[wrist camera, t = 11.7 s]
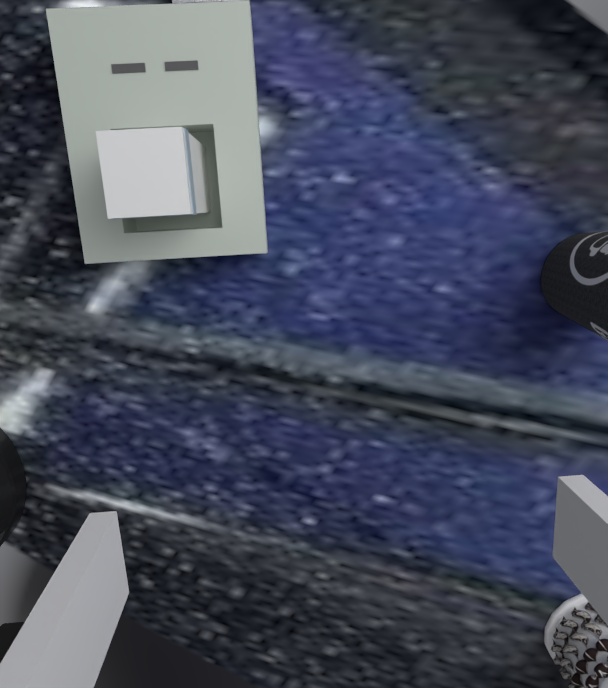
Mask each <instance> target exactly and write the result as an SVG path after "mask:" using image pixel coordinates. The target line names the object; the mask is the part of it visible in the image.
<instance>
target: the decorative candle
mask: <svg viewBox="0 0 608 688" xmlns="http://www.w3.org/2000/svg"><path fill="white" fill-rule="evenodd" d="M544 644H545V646H546V648H547V650H548V652H549V654H550V656H551V658H552V659H553V662H554V663H555V664H560V665H561V666H562V668H561V669H560V673H561V674H562V677H563V678H564V679H570V680H571V682H570V683H569V684H568V686H569V688H608V625H607V624H606V623H605V622H604V620H603V619H602V618H601V617H600V615H599V614H598V613H597V612H596V610H595V609H594V608H593V607H592V605H591V604H590V603H589V602H588V600H587V599H586V598H585V597H584V595H583V594H582V593H581V594H579V595H576V596H574V597H572V598H570V599H568V600H565V601H564V602H563V603H562V604H561V605H560V606H559V607H558V608H557V609H556V610H555V611H553V612H552V614H551V616H550V618H549V620H548V622H547V624H546V626H545V631H544Z"/></svg>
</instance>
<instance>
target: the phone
mask: <svg viewBox="0 0 608 688" xmlns="http://www.w3.org/2000/svg"><path fill="white" fill-rule="evenodd" d="M225 1H249V2H250V0H172V4H177V3H201V2H225ZM250 5H251V4H250Z"/></svg>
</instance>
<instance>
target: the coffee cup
mask: <svg viewBox="0 0 608 688" xmlns="http://www.w3.org/2000/svg"><path fill="white" fill-rule="evenodd" d="M541 287H542V292H543V295H544V297H545V299H546V301H547V302H548V304H549V305H550V306H551V307H552V308H553V309H554V310H556V311H557V312H559V313H560V314H562V315H564V316H566V317H567V318H569V319H571V320H573V321H574V322H576V323H578V324H580V325H582V326H583V327H585V328H587V329H589V330H590V331H592V332H594V333H596V334H597V335H599V336H601V337H603V338H604V339H606V340H608V232H594V233H582V234H577V235H574V236H571V237H569V238H567V239H565V240H564V241H562V242H561V243H559V244H558V245H557V246H556V247H555V248H554V249H553V250H552V252H551V253H550V254H549V256H548V257H547V259H546V261H545V263H544V266H543V269H542V274H541Z"/></svg>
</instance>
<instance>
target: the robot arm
mask: <svg viewBox="0 0 608 688" xmlns="http://www.w3.org/2000/svg"><path fill="white" fill-rule="evenodd" d="M25 500H26V478H25V473H24V468H23V465H22V462H21V459H20V457H19V455H18V453H17V451H16V449H15V447H14V445H13V444H12V442H11V441H10V439H9V438H8V436H7V435H6V434H5V433H4V432H3V430H2V429H1V428H0V546H1V545H2V544H3V542H4V541H5V540H6V539H7V537H8V536H9V535H10V534H11V532H12V531H13V530H14V528H15V527H16V525H17V523H18V521H19V519H20V517H21V515H22V512H23V509H24V505H25ZM553 558H554V559H555V560H556V562H557V563H558V564H559V565H560V567H561V568H562V569H563V570H564V572H565V573H566V574H567V575H568V577H569V578H570V579H571V580H572V582H573V583H574V584H575V585H576V587H577V588H578V589H579V590H580V592H581V593H582V594H583V595H584V597H585V598H586V599H587V600H588V602H589V603H590V604H591V605H592V607H593V608H594V609H595V610H596V612H597V613H598V614H599V615H600V617H601V618H602V619H603V620H604V622H605V623H606V624H607V625H608V496H607V495H606V494H604V493H603V492H602V491H601V490H600V489H599V488H597V487H596V486H595V485H594V484H593V483H592V482H591V481H589V480H588V479H587V478H586V477H585V476H584V475H575V476H562V477H558V485H557V500H556V516H555V531H554V546H553ZM128 594H129V588H128V582H127V576H126V569H125V563H124V556H123V550H122V543H121V537H120V531H119V524H118V518H117V511H112V512H99V513H90V514H89V515H88V517H87V519H86V520H85V522H84V524H83V525H82V527H81V529H80V530H79V532H78V534H77V536H76V537H75V539H74V541H73V542H72V544H71V546H70V547H69V549H68V551H67V552H66V554H65V556H64V557H63V559H62V561H61V562H60V564H59V566H58V567H57V569H56V571H55V572H54V574H53V576H52V578H51V579H50V581H49V583H48V585H47V586H46V588H45V589H44V591H43V593H42V594H41V596H40V598H39V599H38V601H37V603H36V605H35V606H34V608H33V609H32V611H31V613H30V614H29V616H28V618H27V620H26V621H25V622H17V623H5V624H2V625H1V626H0V688H94V685H95V683H96V680H97V677H98V674H99V672H100V669H101V666H102V664H103V661H104V658H105V656H106V653H107V650H108V648H109V645H110V642H111V639H112V637H113V634H114V632H115V629H116V626H117V623H118V621H119V618H120V615H121V613H122V610H123V607H124V605H125V602H126V599H127V597H128Z"/></svg>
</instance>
